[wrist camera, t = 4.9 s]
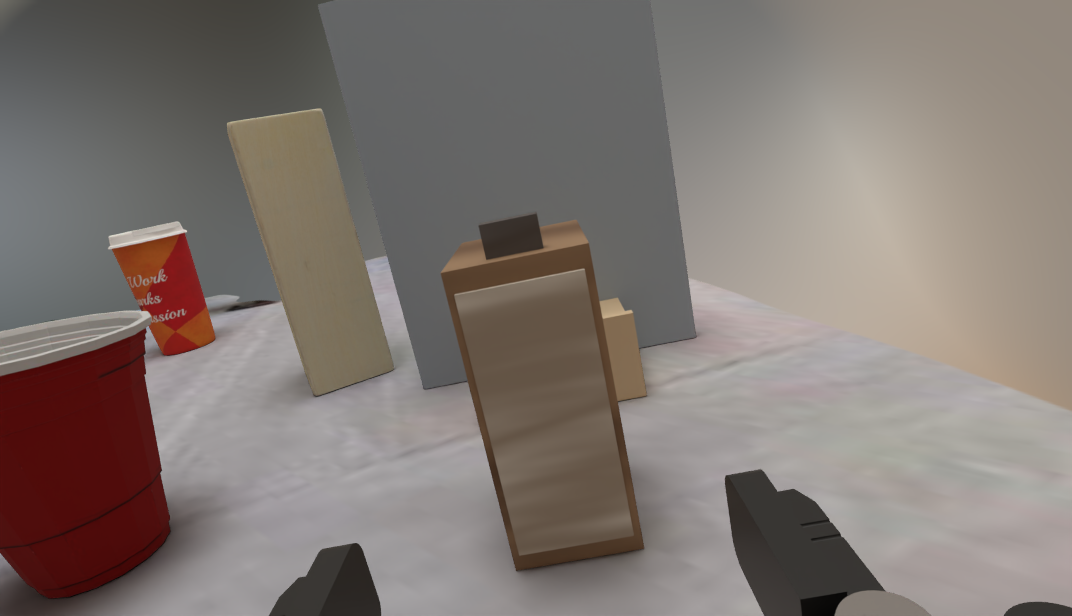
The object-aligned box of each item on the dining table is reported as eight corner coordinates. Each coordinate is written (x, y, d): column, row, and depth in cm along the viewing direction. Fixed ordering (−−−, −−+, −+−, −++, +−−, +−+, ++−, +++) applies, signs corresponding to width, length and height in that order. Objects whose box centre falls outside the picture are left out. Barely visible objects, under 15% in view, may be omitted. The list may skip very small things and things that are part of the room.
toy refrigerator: (405, 367, 49) (331, 104, 43) (315, 398, 46) (222, 121, 40) (384, 346, 56) (318, 118, 50) (305, 372, 53) (225, 133, 47)
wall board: (731, 379, 34) (669, -128, 27) (400, 441, 35) (260, -32, 28) (672, 308, 49) (622, -34, 42) (439, 353, 50) (353, 27, 43)
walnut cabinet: (645, 552, 22) (582, 207, 19) (515, 574, 22) (430, 238, 19) (621, 465, 28) (571, 191, 25) (519, 483, 28) (455, 215, 25)
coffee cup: (138, 359, 72) (89, 240, 68) (200, 334, 79) (158, 225, 75) (178, 359, 68) (128, 232, 64) (240, 333, 75) (198, 216, 71)
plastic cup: (226, 563, 27) (125, 318, 24) (-74, 691, 23) (-245, 416, 20) (229, 469, 37) (158, 285, 33) (19, 547, 32) (-86, 346, 29)
